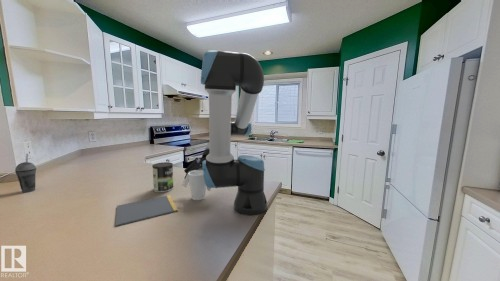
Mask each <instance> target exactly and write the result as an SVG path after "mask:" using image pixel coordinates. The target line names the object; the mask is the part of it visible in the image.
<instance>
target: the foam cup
mask: <svg viewBox="0 0 500 281" xmlns="http://www.w3.org/2000/svg"><path fill="white" fill-rule="evenodd" d="M188 178H189V182H188V184H189V188H190V194H191V199H192V200H194V201H201V200H204V199H205V198H206V192H207V191H206V190H207V186H206V185H205V181H204V175H203V169H198V170H194V171H190V172H189V173H188Z"/></svg>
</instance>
